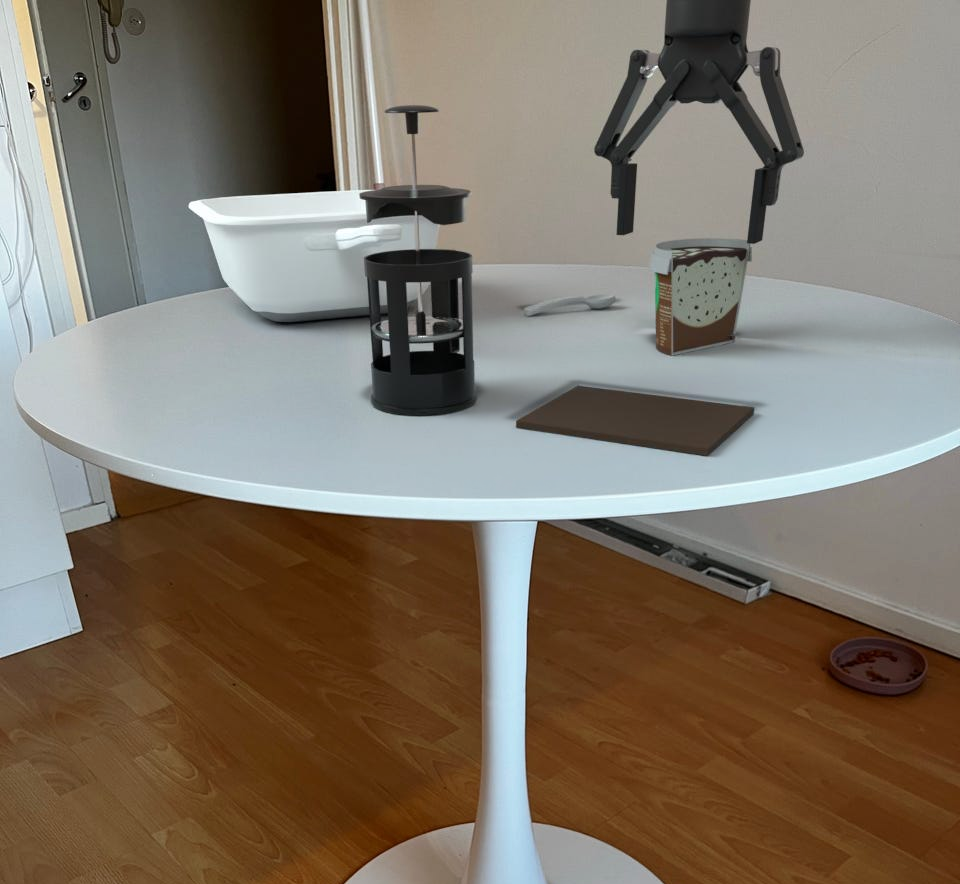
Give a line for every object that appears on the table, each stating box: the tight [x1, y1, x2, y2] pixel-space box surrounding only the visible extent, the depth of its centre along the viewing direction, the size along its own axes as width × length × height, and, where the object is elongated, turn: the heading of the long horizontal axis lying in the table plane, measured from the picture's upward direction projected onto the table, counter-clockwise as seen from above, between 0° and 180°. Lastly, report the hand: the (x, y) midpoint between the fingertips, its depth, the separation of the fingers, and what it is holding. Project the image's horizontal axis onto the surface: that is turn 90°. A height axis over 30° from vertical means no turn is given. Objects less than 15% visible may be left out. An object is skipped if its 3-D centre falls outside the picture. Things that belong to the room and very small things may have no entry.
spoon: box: [523, 293, 616, 317], centre depth 122 cm, size 3×12×2 cm, turn 111°
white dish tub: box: [188, 189, 441, 323], centre depth 117 cm, size 28×44×13 cm, turn 21°
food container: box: [647, 237, 753, 356], centre depth 104 cm, size 12×6×10 cm, turn 126°
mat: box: [515, 385, 755, 457], centre depth 82 cm, size 16×12×1 cm
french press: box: [359, 104, 478, 416], centre depth 83 cm, size 12×9×23 cm
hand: (687, 238), depth 101 cm, fingers open, 13 cm apart
